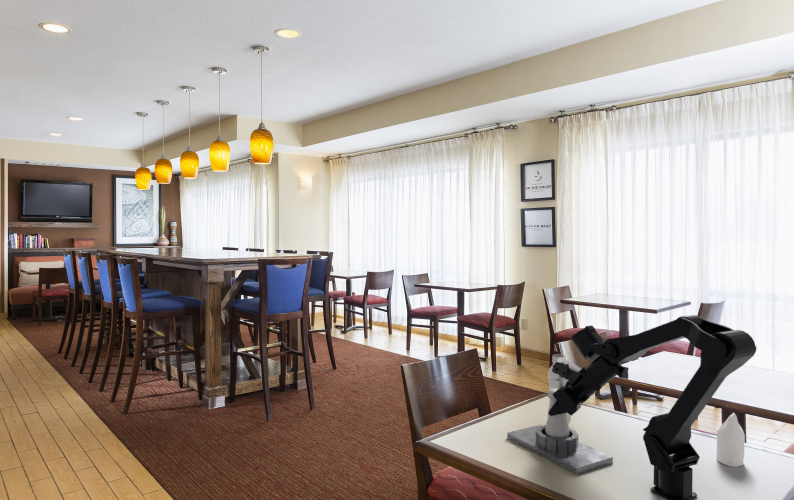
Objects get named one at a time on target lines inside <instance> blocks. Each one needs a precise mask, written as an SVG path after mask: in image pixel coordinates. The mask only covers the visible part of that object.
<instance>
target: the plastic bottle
mask: <svg viewBox="0 0 794 500" xmlns="http://www.w3.org/2000/svg"><path fill="white" fill-rule="evenodd" d="M560 357H562V358H565V359H566V360H567V358H566V355H564V354H552V365H551V366H550V368H549V369H548V372H547V380H548V387H549V389H548V391H549V390H550V389H559V388H560V387H562V386H565V384H566V382H567V381H568V380H567V379H565V378H563V377H561V376H560V375H558V374H555V373H553V372H552V369H553V365H554V364H555V362H556V360H557V359H559V358H560ZM548 401H549V403H548V410H547V413H548V412H549V408H550V402H551V399H549V400H548ZM547 417H548V414H547ZM566 417H567V422H568V426H569V425H570V424H571V420H572V416H571V415H569V414H568V413H566Z"/></svg>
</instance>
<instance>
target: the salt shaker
mask: <svg viewBox="0 0 794 500" xmlns="http://www.w3.org/2000/svg"><path fill="white" fill-rule="evenodd" d="M557 390H558V389H550V390H549V389H548V392H547V395H548V399H549V400H550V399H551V402H550V408H549V407H548V409H549V410H550V409H551V408H552V406H553V405H554V403H555V402H556V401H557V400H556V399H555V398H554V396H553V393H554V392H556V391H557ZM547 415H548V416H547V420H546V429H545V430H546V434H547V436H548V437H552V438H568V436H569V428H570V427H569V425H568V422H567V417H566V413H563V414H559V415H554V416H550V415H549V414H548V413H547Z"/></svg>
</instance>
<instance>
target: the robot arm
mask: <svg viewBox="0 0 794 500" xmlns="http://www.w3.org/2000/svg"><path fill="white" fill-rule="evenodd" d="M684 338H685V339H686V340H687V341H688V342H690V344H692V345H693V347H695V348H696V349H698V350H700V354H699V356H700V365H699V367H698V368H697V370H696V371H695V373H694V374H693V375H692V377H691V379H690V380H689V382H688V383H687V385H686V386H685V388H684V390H683V391H682V392H681V394H680V395H679V397H678V398H677V399H676V401H675V403H674V404H673V406H672V407H671V408H670V410H669V411H668V412H666V413H663V414H657V415H654V416H652V417H651V418H650V420H649V422H648V425H647V426H646V427H645V428H642V430H643V432H644V433H643V436H642V440H643V442H644V445H645V449H646V453H647V456H648V459H649V464H650V465H651V466H653V485H654V486H652V487H650V491H651V492H653V493H654V494H657V495H659V496H660V497H663V498H665V499H667V500H692V499H694V498H696V497H698V494H697V492H695V491H693V473H694V472H693V468H692V466H697V465H698V462H699V461H700V457H701V456H700V455H699V454H698V452H697V451H696V450H695V447H694V446H693V445H692V444H691V442H690V440H691V438H692V426H693V424H694V423H695V422H696V420H697V418H698V417H700V414H701V413H702V412H703V410H704V409H705V408H706V406H707V405H708V403H709V402H710V400H711V399H712V398H713V396H714V395H715V393H716V392H717V390H718V389H719V388H720V386H721V385H722V384H723V382H724V381H725V380H726V378H727V377H728V376H729V375H732V373H735V371H737V370H738V369H740V368H741V367H743V366H744V365H745V364H746V363H748V361H750V359H752V358H753V357H754V356H755V354H756V352H757V346H756V343H755V340H754V339H753V336H751V335H750V334H749V333H748V332H746V331H744V330H740V329H733V328H730V327H728V326H726V325H723V324H719V323H716V322H714V321H710V320H708V319H706V318H703V317H701V316H699V315H695V314H691V315H683V316H679V317H677V318H676V319H674V320H671V321H669V322H667V323H663V324H661V325H658V326H656V327H652V328H649V329H647V330H645V331H642V332H640V333H636V334H632V335H625V336H619V337H617V336H616V337H612V338H611V337H610V338H607V339H605V340H604V339H603V338H602V337H601V336H600V335H599V333H598V331H597V330H596V328H595V327H594V326H593V325H586V326H585V327H584V328H582V329H580V330H578V331H576V333H574V334H572V336H571V338H570V340H571V343H572V344H573V345H574V346H575V348H576V349H577V351H578V352H579V353H580V355H581V356H582V357H583V359H584V360H590V361H592V362H590V363H589V364H588V365H587V366H583V367H582V368H581V367H580V366H578V365H577V364H575V363H573V362H572V361H570V360H568V359H567V358H566V359H565V358H562V357H560V358H559V359H557V360H556V362H555V364H554V365H553V364H552V365H553V369H552V372H553V373H555V374H558V375H560V376H561V377H563V378H565V379H567V380H568V381H567V382H566V384H565V386H562V387H560V388H559V389H558V390H557V391H556V392H554V393H553V396H554V398H555V399H556V400H557V401H556V402H555V403H554V405H553V406H552V408H551V409H550V410H549V412H548V411H547V415H548V414H549V415H550V416H554V415H559V414H563V413H568V414H569V415H571V417H572V416H573V415H574V414H575V413H577V412H578V411H579V410H580V409H581V408H582V404H583V403H585V402H586V401H588V400H589V399H590V398H591V397H592V396H593V395H595V394H596V393H597V392H599V391H600V390H601V389H602V388H604V386H606V385H607V384H608V383H609V382H611V381H612V380H613V379H614V378H615V377H617V376H618V378H619V379H624V380H628V379H629V370H630V369H629V367H627V366H623V365H622V364H621V363H626V362H633V361H635V360H638V359H640V358H641V357H642V356H644V355H646V353H647V352H649V351H651V350H652V349H655V348H658V347H661V346H664V345H666V344H671V343H673V342H677V341H678V340H679V341H680V340H682V339H684Z"/></svg>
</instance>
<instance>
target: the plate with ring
mask: <svg viewBox="0 0 794 500" xmlns="http://www.w3.org/2000/svg"><path fill="white" fill-rule="evenodd" d="M568 428H569V436H568V438H552V437H548V436H547V434H546V430H545V429H546V425H543V424H538V425H534V426H529V427H525V428H521V429H517V430H512V431H509V432H507V433H506V435H507V437H506V438H507V440H509V441H511V442H513V443H516V444H518V445H519V446H521V447H523V448H525V449H527V450H529V451H531V452H532V453H533V454H536V455H538V456H541V457H542V458H544V459H545V460H548V461H550V462H551V463H553V464H556V465H557V466H559V467H561V468H563V469H565V470H567V471H568V472H571V474H572V473H573V474H575V475H580V474H583V473H586V472H589V471H593V470H595V469H596V470H597V469H600V468H602V467H605V466H609V465H612V464H614V457H613V456H612V455H609V454H607V453H604V452H602V451H600V450H599V449H597V448H594V447H591V446H589V445H587V444H585V443H582V442H580V441H579V433H578V432H577V431H576V429H573V428H570V427H568Z"/></svg>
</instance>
